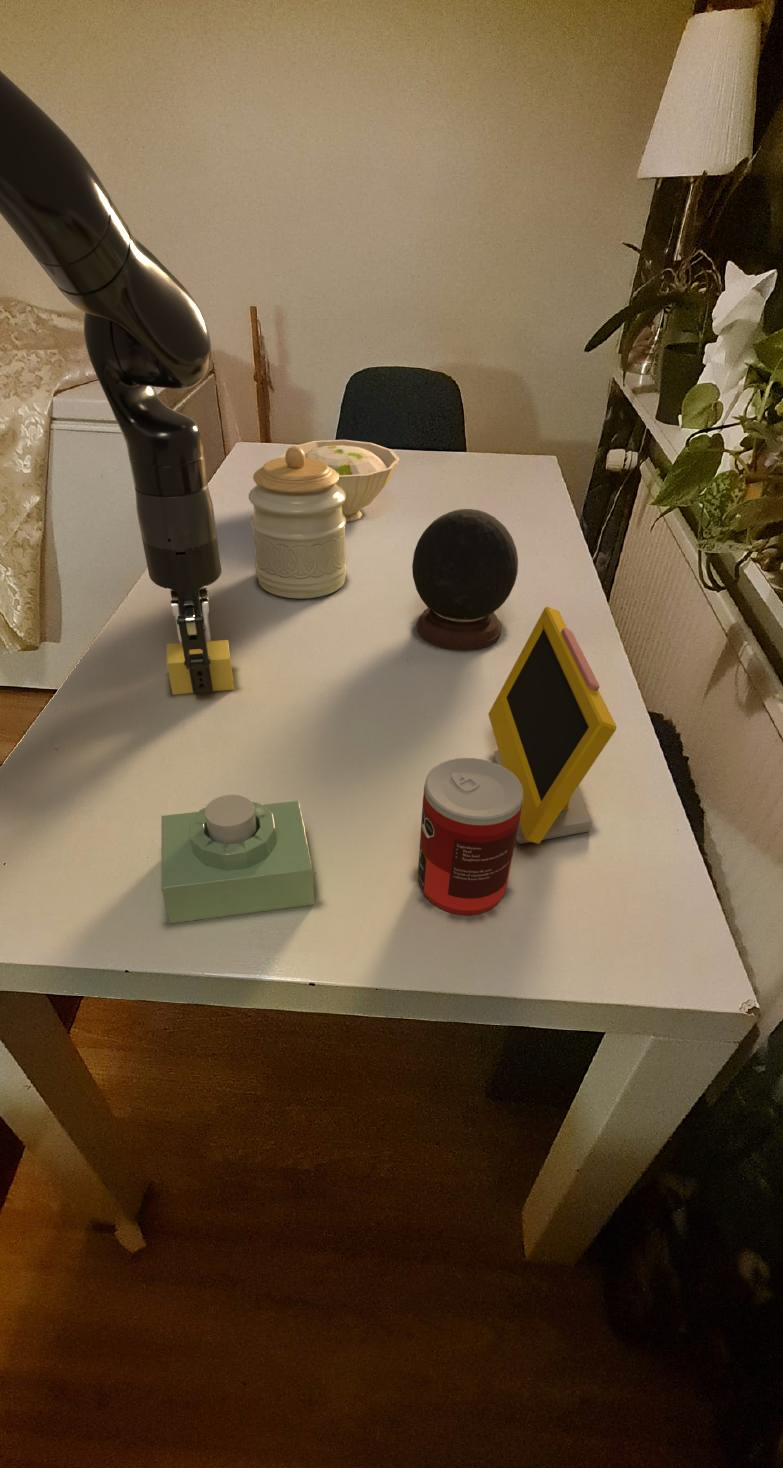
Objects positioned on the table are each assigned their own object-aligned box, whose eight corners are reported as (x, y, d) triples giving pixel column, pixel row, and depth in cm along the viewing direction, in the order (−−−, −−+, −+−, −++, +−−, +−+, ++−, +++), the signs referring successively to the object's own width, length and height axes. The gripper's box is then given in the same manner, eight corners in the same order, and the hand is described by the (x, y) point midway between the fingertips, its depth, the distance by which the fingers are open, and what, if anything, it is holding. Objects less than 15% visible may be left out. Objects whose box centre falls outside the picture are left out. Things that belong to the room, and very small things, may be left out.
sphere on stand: (503, 660, 96) (521, 538, 86) (400, 647, 98) (405, 526, 88) (512, 613, 106) (529, 499, 95) (418, 602, 107) (425, 488, 97)
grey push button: (209, 847, 62) (205, 828, 61) (207, 816, 65) (203, 797, 63) (258, 842, 63) (256, 823, 61) (254, 810, 66) (252, 792, 64)
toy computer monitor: (484, 741, 84) (503, 602, 73) (554, 739, 84) (584, 602, 73) (519, 868, 69) (549, 720, 58) (604, 866, 70) (649, 719, 59)
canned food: (446, 843, 72) (456, 745, 64) (522, 879, 68) (542, 781, 61) (399, 890, 67) (404, 791, 59) (477, 931, 64) (494, 832, 56)
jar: (237, 582, 110) (222, 447, 98) (298, 555, 118) (291, 426, 106) (305, 609, 105) (298, 470, 93) (364, 579, 112) (365, 446, 100)
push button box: (170, 923, 64) (157, 871, 59) (169, 850, 70) (157, 799, 66) (314, 904, 66) (311, 853, 61) (301, 835, 72) (297, 784, 68)
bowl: (314, 543, 121) (311, 475, 114) (266, 503, 133) (261, 440, 126) (419, 524, 128) (422, 459, 121) (365, 488, 140) (365, 427, 133)
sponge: (172, 694, 89) (166, 663, 86) (172, 675, 92) (166, 644, 89) (234, 689, 90) (230, 658, 87) (231, 670, 93) (227, 639, 90)
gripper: (142, 508, 83) (168, 647, 94) (139, 562, 73) (169, 711, 85) (213, 504, 84) (230, 643, 96) (219, 557, 74) (238, 705, 86)
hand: (202, 674), depth 90 cm, fingers open, 7 cm apart
